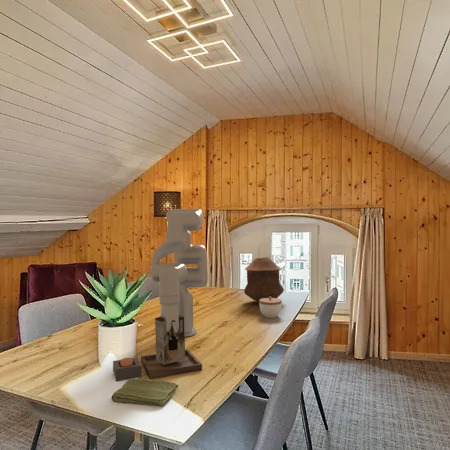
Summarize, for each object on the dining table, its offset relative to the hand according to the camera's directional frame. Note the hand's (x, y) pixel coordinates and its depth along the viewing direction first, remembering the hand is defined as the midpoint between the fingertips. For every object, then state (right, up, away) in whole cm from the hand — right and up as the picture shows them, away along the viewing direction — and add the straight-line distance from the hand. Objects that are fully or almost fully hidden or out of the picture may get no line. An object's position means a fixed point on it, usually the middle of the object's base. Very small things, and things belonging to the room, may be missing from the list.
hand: (170, 346), depth 139 cm
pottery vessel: (+46, -6, +103) cm, 113 cm away
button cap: (-14, -6, -7) cm, 17 cm away
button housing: (-14, -8, -7) cm, 18 cm away
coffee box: (0, -5, 0) cm, 5 cm away
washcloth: (-4, -8, -23) cm, 25 cm away
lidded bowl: (+46, -6, +70) cm, 84 cm away
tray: (0, -7, 0) cm, 7 cm away
